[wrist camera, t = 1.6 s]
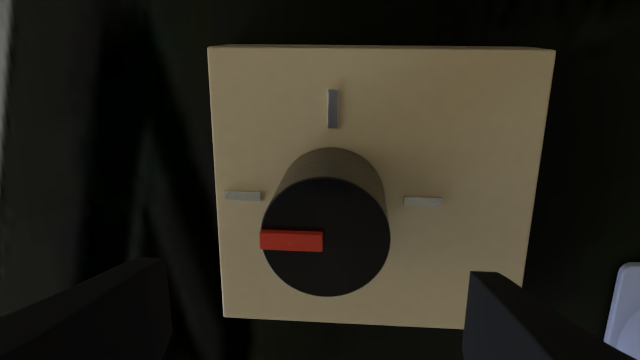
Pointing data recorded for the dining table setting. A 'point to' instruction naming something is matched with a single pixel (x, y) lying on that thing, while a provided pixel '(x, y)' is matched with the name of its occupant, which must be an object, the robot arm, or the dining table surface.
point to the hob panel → (383, 166)
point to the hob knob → (327, 224)
